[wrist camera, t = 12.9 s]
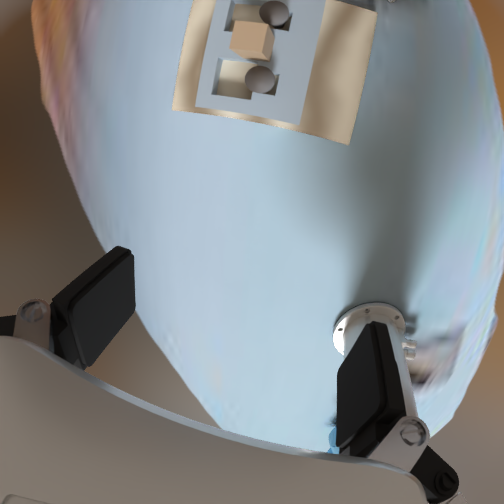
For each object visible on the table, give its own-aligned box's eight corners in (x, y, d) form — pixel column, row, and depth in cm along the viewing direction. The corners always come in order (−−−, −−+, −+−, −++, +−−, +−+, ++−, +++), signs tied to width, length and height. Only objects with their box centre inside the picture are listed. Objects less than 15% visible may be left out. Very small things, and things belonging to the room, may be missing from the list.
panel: (324, 5, 23) (329, -21, 16) (299, 124, 31) (297, 128, 24) (224, -8, 23) (203, -33, 16) (200, 106, 31) (172, 108, 24)
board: (375, 15, 23) (386, 1, 18) (347, 144, 32) (354, 150, 27) (200, -12, 24) (184, -27, 19) (175, 109, 33) (155, 111, 28)
